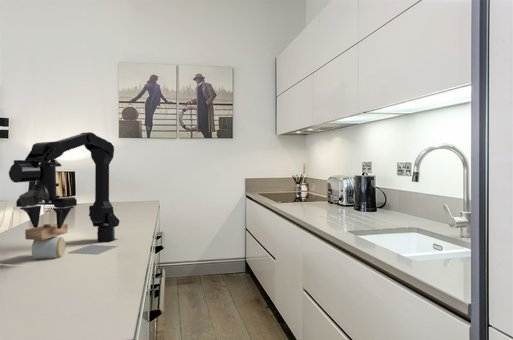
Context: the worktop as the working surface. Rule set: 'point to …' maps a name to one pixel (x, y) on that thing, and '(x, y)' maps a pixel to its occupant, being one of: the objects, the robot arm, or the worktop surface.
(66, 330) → the worktop surface
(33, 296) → the worktop surface
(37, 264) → the worktop surface
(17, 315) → the worktop surface
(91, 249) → the mat
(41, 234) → the lid
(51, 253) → the ceramic mug
